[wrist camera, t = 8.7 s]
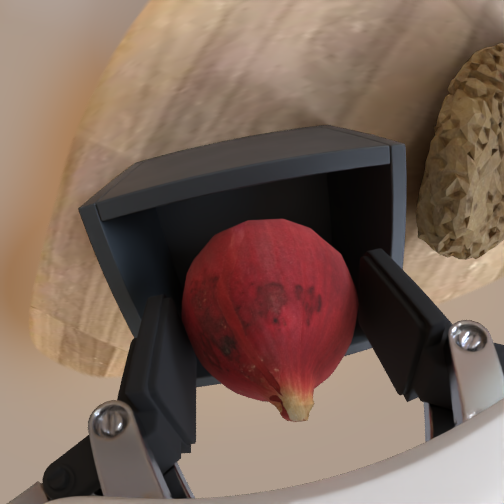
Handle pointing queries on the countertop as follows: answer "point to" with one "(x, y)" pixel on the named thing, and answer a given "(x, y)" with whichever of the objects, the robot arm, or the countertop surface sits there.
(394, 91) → the countertop surface
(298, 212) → the waste bin
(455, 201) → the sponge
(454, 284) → the countertop surface
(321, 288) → the onion
